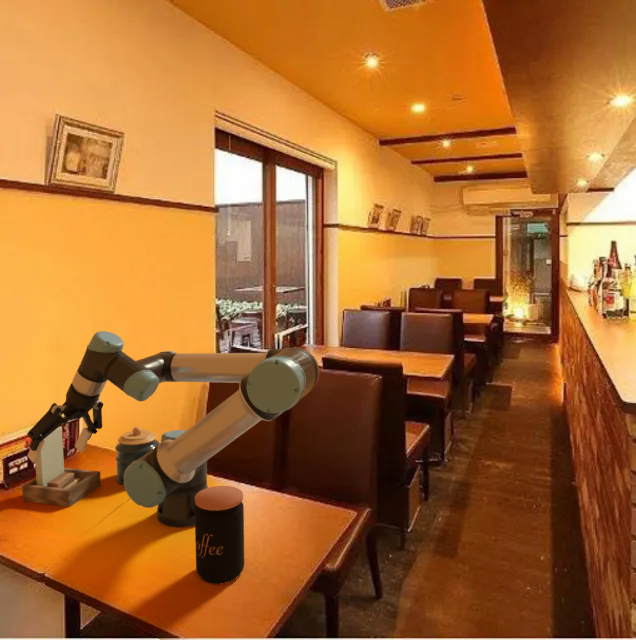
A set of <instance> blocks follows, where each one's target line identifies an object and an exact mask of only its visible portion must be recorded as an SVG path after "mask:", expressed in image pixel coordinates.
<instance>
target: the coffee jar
mask: <svg viewBox="0 0 636 640" xmlns="http://www.w3.org/2000/svg"><path fill="white" fill-rule="evenodd" d="M243 499H244V492H243V491H242V490H241V489H239V487H238V488H237V487H235V486H229V485H215V486H208V488H206V489H203V490H201V491H199V492H198V493H197V494H196V496H195V504H196V507H195V525H194V529H195V531H194V534H195V539H194V540H195V569H196V570H195V571H196V574H197V575H198V576H199V577H200V579H201V581H204V582H205V583H208V584H211V583H212V584H213V585H221V584H220V583H223V584H226V583H225V582H228V581H230V582H232V581H231V580H233V579H234V580H236V579H237V578H238V577H240V575H241V574H240V573H242V572H243V571H244V568H245V525H244V524H245V517H244V516H245V514H244V512H245V508H244V503H243ZM239 574H240V575H239ZM237 576H238V577H237ZM236 577H237V578H236ZM235 578H236V579H235ZM234 580H233V581H234ZM228 583H229V582H228Z"/></svg>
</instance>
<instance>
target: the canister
mask: <svg viewBox="0 0 636 640" xmlns="http://www.w3.org/2000/svg"><path fill="white" fill-rule="evenodd" d="M117 442H118V443H117V444H116V445H115V451H116V452H117V453H116V457H115V461H116V482H117V483H118V484H119V485H121V486H124V473H125V470H126V469H127V467H128V466H129V465H130V464H131V463H132V462H133V461H135V460H138V459H140V458H141V457H143V456H144V455H145V454H147V453H148V452H149V451H151V450H152V449H153V448H155V447H156V446H157V445H158V444H160V442H159V441H158V439H157V435H156V434H155V433H154V432H151V431H150V430H147V429H146V430H145V429H142V428H141V427H140V426H134V428H133V429H132V430H130V431H127V432H125V433H123V434H122V435H121V436H119V437H118V438H117Z"/></svg>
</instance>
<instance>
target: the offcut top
mask: <svg viewBox="0 0 636 640" xmlns="http://www.w3.org/2000/svg"><path fill="white" fill-rule="evenodd" d="M73 482H74V473H67V472H63V473H62V474H60V475H58V476H57V477H55V478H54V479H52V480H51V481H49V482H48V483H47V487H56V488H65V487H67V486H68V485H70V484H71V483H73Z"/></svg>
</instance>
